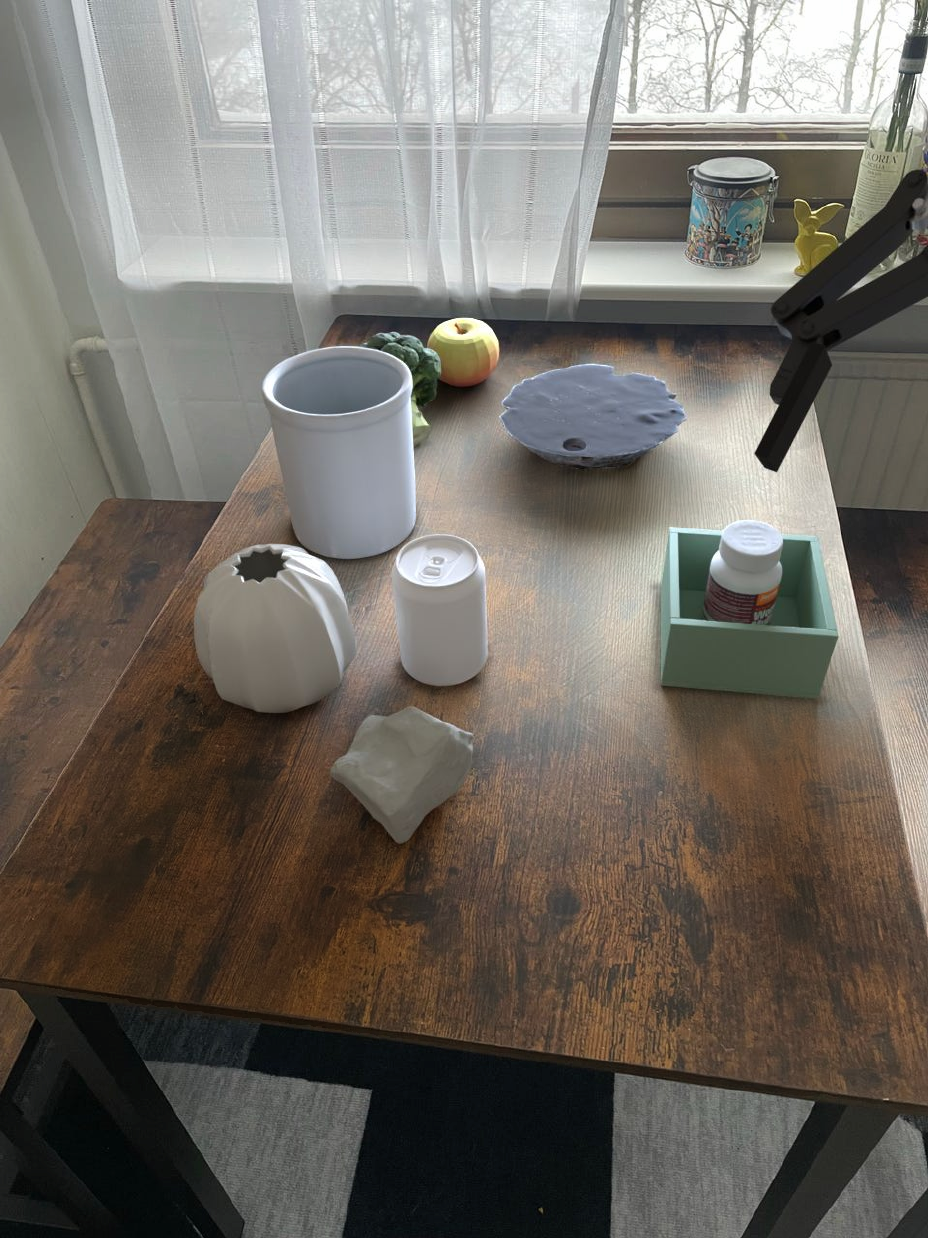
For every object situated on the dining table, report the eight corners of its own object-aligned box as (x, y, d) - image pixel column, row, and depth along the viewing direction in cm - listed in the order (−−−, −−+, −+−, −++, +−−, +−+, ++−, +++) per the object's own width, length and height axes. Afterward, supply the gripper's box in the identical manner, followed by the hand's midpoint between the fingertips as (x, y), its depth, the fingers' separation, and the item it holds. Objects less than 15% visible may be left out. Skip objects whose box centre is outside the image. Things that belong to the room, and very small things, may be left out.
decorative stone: (374, 707, 80) (432, 660, 73) (446, 781, 81) (511, 742, 73) (296, 790, 73) (353, 747, 65) (377, 871, 73) (442, 838, 66)
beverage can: (498, 638, 88) (496, 538, 80) (473, 698, 83) (468, 598, 74) (418, 623, 90) (408, 524, 82) (388, 681, 85) (375, 581, 76)
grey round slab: (593, 517, 102) (595, 478, 98) (463, 441, 114) (461, 404, 111) (717, 442, 112) (724, 404, 109) (585, 380, 125) (587, 344, 121)
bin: (818, 699, 81) (838, 636, 76) (660, 685, 83) (670, 623, 78) (801, 597, 91) (818, 536, 86) (660, 587, 93) (669, 526, 88)
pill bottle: (757, 664, 84) (781, 567, 76) (690, 644, 86) (707, 548, 78) (772, 621, 88) (797, 526, 80) (708, 604, 90) (726, 509, 82)
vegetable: (347, 451, 110) (312, 351, 114) (407, 478, 120) (374, 386, 125) (426, 395, 105) (386, 293, 109) (482, 429, 115) (444, 335, 120)
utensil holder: (357, 469, 111) (338, 331, 99) (450, 514, 103) (442, 371, 91) (262, 528, 103) (229, 385, 91) (356, 581, 95) (333, 433, 83)
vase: (365, 720, 81) (347, 607, 72) (206, 741, 80) (166, 629, 71) (356, 616, 91) (339, 505, 82) (215, 634, 90) (181, 523, 81)
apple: (414, 376, 127) (409, 320, 122) (470, 354, 131) (468, 299, 126) (457, 403, 121) (454, 346, 116) (514, 379, 125) (514, 323, 120)
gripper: (1391, 204, 42) (1153, 622, 44) (858, 121, 54) (693, 449, 56) (1464, 100, 35) (1182, 596, 37) (841, 33, 48) (655, 407, 50)
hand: (888, 509), depth 47 cm, fingers open, 13 cm apart
